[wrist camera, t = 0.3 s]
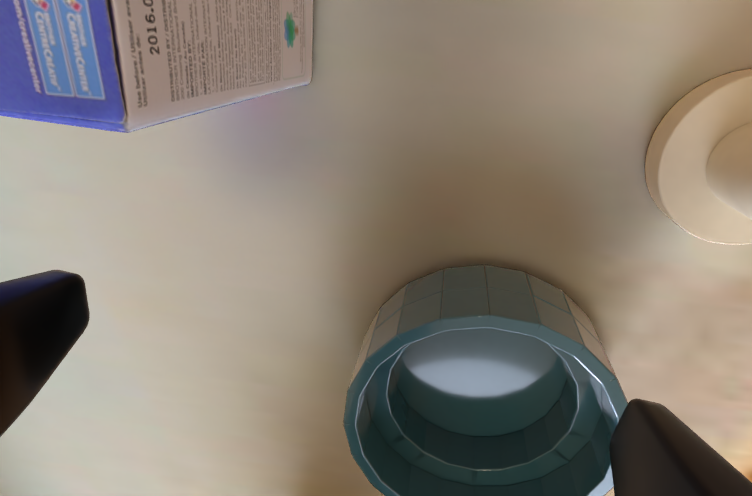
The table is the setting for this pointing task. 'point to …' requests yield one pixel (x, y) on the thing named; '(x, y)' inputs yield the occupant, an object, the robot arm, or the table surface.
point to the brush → (706, 161)
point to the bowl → (483, 391)
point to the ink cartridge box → (147, 58)
